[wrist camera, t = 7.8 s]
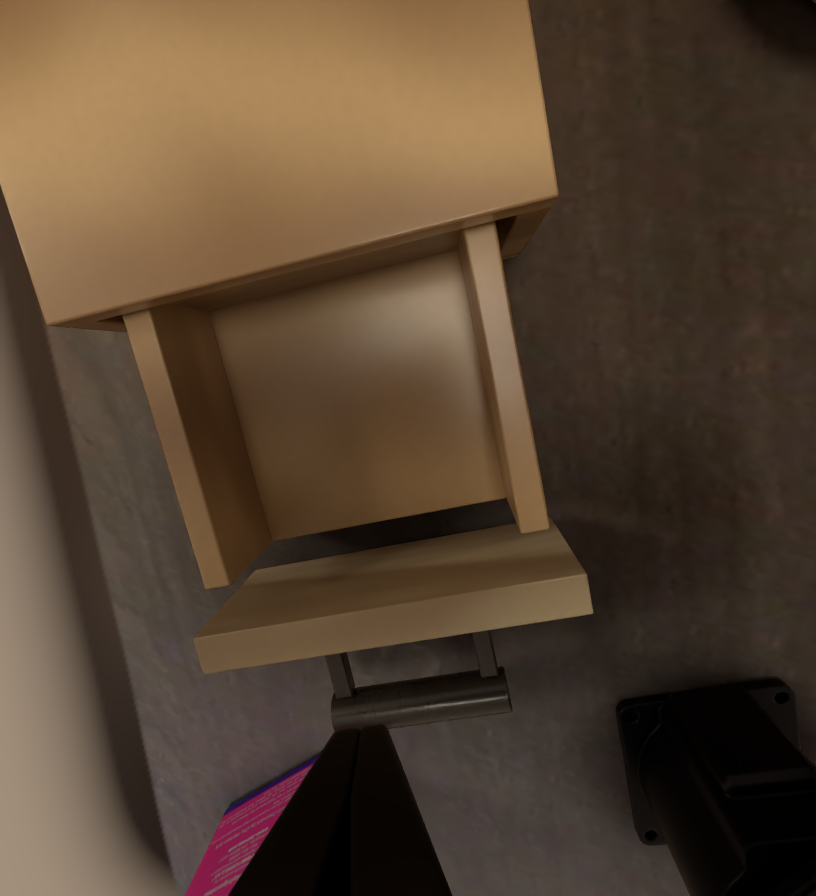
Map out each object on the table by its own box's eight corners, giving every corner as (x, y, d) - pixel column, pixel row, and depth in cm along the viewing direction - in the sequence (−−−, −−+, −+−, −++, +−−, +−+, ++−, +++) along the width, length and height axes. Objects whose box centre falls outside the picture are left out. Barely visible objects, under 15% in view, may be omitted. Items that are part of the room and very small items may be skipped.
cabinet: (518, 256, 17) (560, 195, 11) (185, 337, 19) (45, 326, 12) (445, -163, 15) (442, -549, 9) (78, -36, 17) (-156, -285, 10)
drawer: (575, 653, 19) (617, 752, 14) (290, 694, 20) (242, 798, 15) (497, 220, 16) (517, 164, 12) (178, 301, 18) (79, 280, 13)
